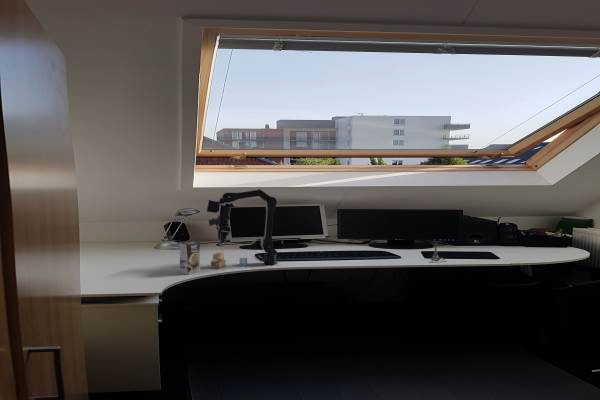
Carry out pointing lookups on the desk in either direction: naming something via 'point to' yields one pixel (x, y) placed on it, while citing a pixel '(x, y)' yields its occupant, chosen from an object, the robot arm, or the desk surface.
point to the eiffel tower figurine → (437, 257)
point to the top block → (218, 257)
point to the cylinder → (243, 261)
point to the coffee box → (189, 257)
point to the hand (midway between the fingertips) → (220, 241)
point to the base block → (218, 264)
